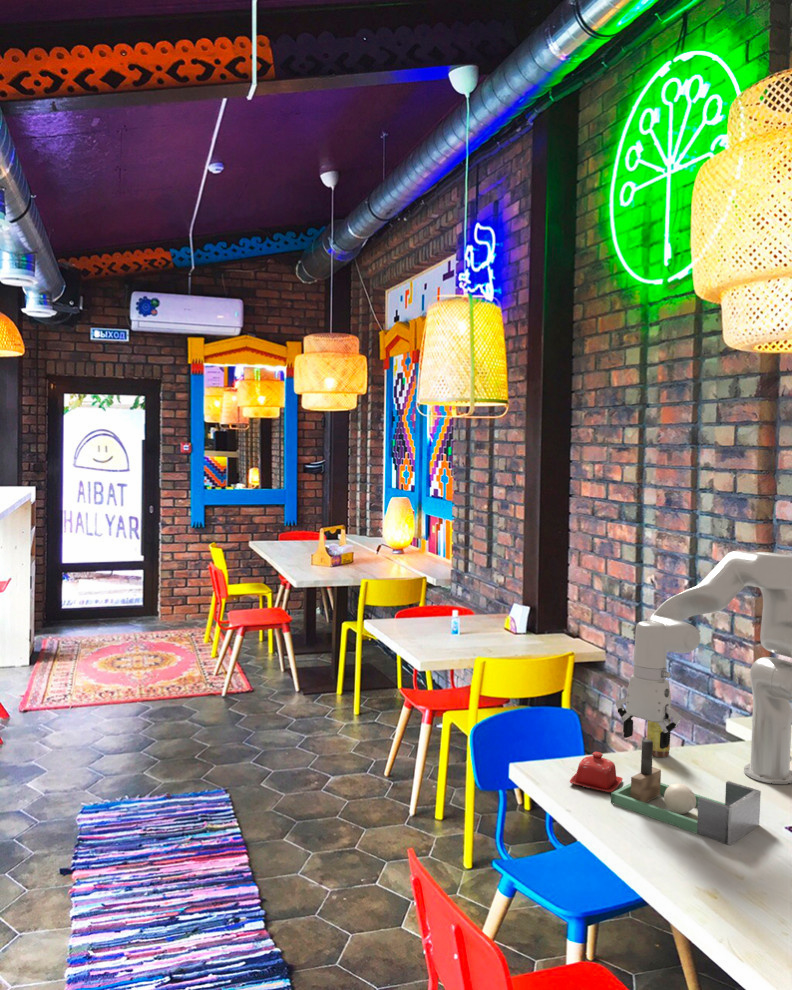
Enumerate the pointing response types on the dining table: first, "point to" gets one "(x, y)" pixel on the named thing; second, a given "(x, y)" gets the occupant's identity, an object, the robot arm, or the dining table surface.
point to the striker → (646, 776)
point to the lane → (655, 808)
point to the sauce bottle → (656, 739)
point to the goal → (729, 814)
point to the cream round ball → (679, 798)
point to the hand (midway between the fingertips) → (645, 742)
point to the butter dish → (597, 773)
